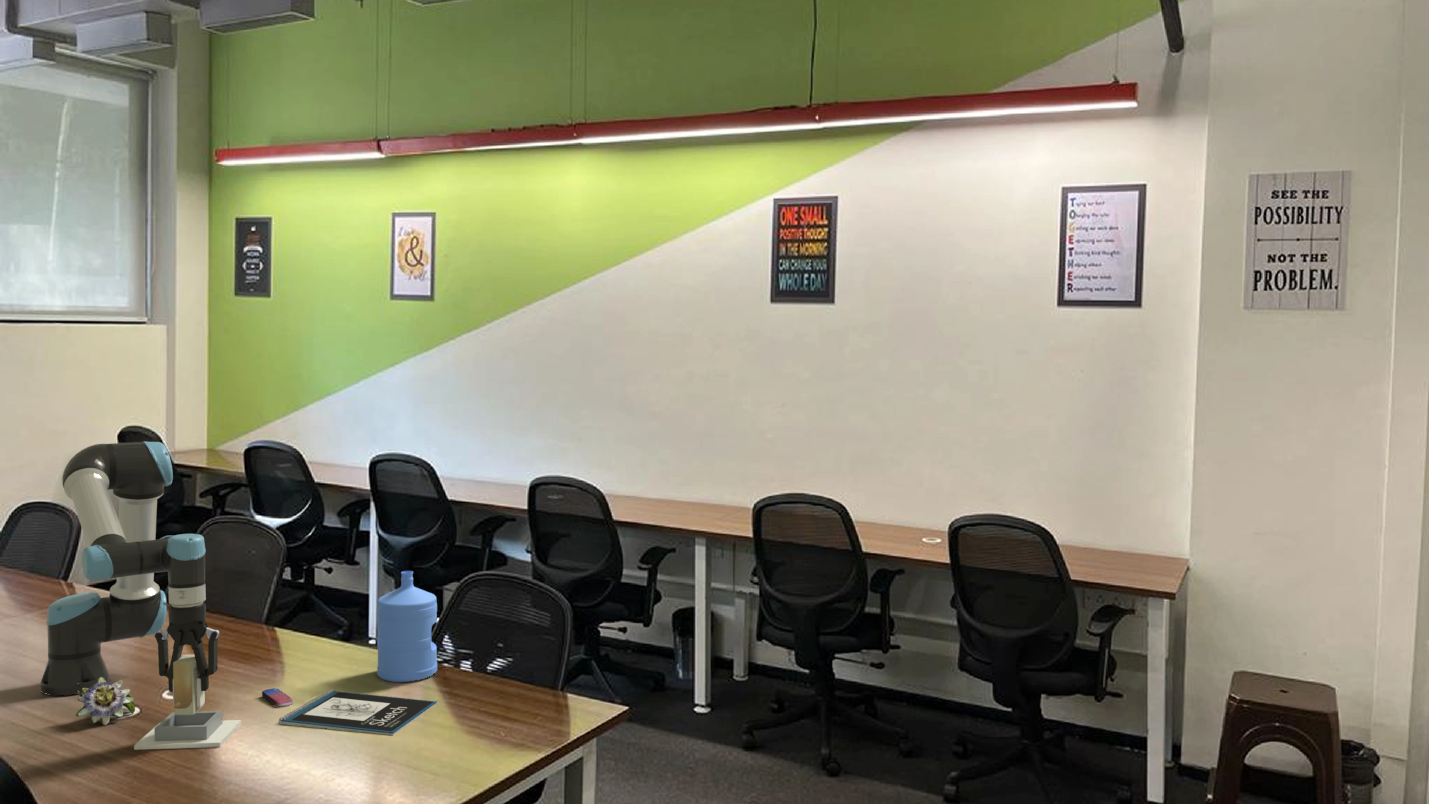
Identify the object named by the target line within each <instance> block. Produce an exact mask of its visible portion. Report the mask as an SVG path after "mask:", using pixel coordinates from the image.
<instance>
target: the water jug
mask: <svg viewBox="0 0 1429 804" xmlns="http://www.w3.org/2000/svg"><path fill="white" fill-rule="evenodd" d="M400 574H401V578H400V581H401V582H400V583H401V584H400V587H398V588H396V589H394V590H392V591H390V592H388V593H386V594H384V595H382V596H380V597H378V600H377V607H376V615H377V637H376V638H377V639H376V646H377V666H376V668H377V670H376V671H377V673H376V674H377V676H378V677H379V678H380V679H381V680H383V681H387V682H391V681H392V683H407V682H408V683H410V682H409V681H412V682H415V681H414V680H418V681H420V680H419V679H422V680H426V679H428V678H430V677H433V674H434V673H435V674H437V673H436V672H438V660H437V655H438V654H437V652H438V651H437V648H438V647H437V644H435V643H434V642H433V641H432V627H433V625H435V623H436V622H437V621H438V620H437V615H438V614H437V612H438V603H437V596H436V595H435V594H434V593H432V592H429V591H426V590H424V589H421V588H419V587H416V586H414V577H413V574H414V571H413V570H403V571H401V572H400ZM435 674H434V675H435ZM429 676H430V677H429ZM427 677H428V678H427ZM425 678H426V679H425Z"/></svg>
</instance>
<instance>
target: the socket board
mask: <svg viewBox="0 0 1429 804" xmlns="http://www.w3.org/2000/svg"><path fill="white" fill-rule="evenodd" d="M241 725H242V719H236V720H235V719H231V720H230V719H229V720H228V719H226V720H223V710H210V711H209V710H208V711H207V710H206V711H200V710H198V711H197V712H196V713H195V714H194V715H174V711H173V712H171V713H170V714H169V715H168V716H167V717H165V718H164V719H163V720H162V721H160V722H159V723H158V724H157V725H155V726H154V727H153V728H152V729H151V730H150V731H149V732H148V733H146V734H145V735H144V736H143V737H142V738H140V739H139V740H138V741H137V742H136V743H135V744H134V745H133V749H134V751H135V750H136V751H139V750H165V749H170V750H171V749H198V748H199V749H200V748H201V749H202V748H203V749H204V748H221V747H222V745H223V744H224V743H225V742H226V741H227V740H228V739H230V737H231V736H232V735H233V734H234V733H235V732H236V731H237V730H238V728H239V727H241ZM233 732H234V733H233ZM231 734H232V735H231Z"/></svg>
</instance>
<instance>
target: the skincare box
mask: <svg viewBox="0 0 1429 804" xmlns="http://www.w3.org/2000/svg"><path fill="white" fill-rule="evenodd" d="M199 676H200V674H199V670H198V667H197V663H196V659H195V655H194V653H193V654H189V653H188V654H182V655H181V657H180V658H179V659H178V660H176V661H175V662H173V679H174V708H173V712H174V715H194V714H195V713H196V712H198V711H200V710H201V708H203V706H204V705H205V703H204V704H203V705H202V706H201V707H197V685H196V679H197V678H198V677H199Z"/></svg>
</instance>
